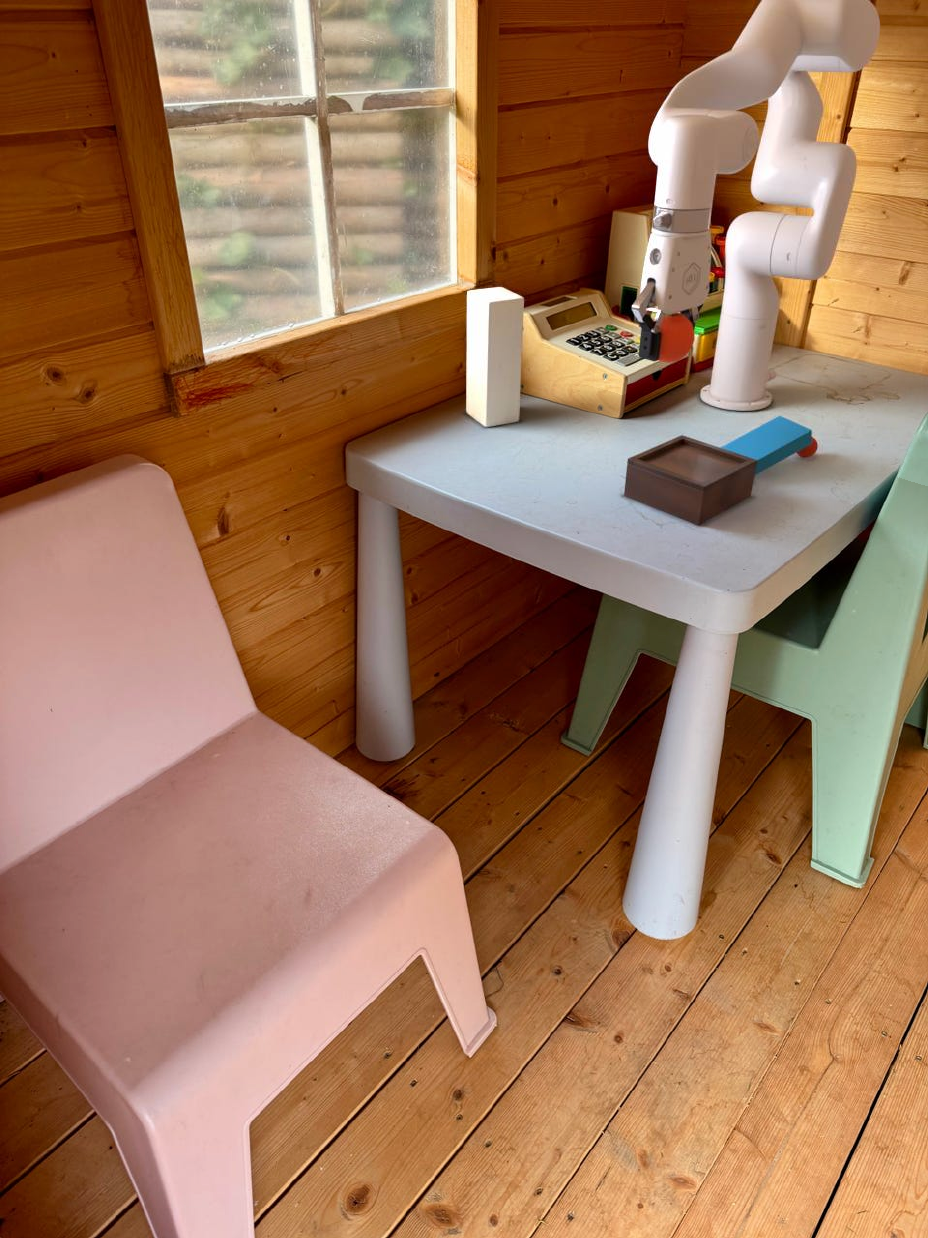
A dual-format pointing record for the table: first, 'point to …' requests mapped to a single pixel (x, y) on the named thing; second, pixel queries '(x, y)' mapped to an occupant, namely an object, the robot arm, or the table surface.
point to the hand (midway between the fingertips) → (665, 352)
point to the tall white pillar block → (494, 355)
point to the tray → (690, 479)
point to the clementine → (675, 337)
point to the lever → (774, 443)
